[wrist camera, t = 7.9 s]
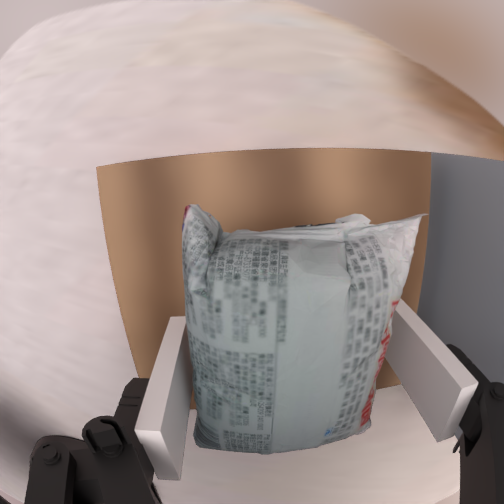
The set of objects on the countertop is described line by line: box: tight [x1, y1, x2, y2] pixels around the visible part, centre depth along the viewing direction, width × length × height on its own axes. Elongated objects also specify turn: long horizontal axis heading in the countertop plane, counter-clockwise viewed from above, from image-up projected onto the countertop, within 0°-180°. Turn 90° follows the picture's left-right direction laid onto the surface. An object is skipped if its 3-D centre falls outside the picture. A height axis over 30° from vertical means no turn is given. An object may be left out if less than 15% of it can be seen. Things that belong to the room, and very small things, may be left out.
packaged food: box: [182, 204, 428, 454], centre depth 12 cm, size 9×12×5 cm
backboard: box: [417, 152, 504, 440], centre depth 15 cm, size 2×16×12 cm, turn 3°
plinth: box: [96, 148, 431, 409], centre depth 19 cm, size 18×16×3 cm
